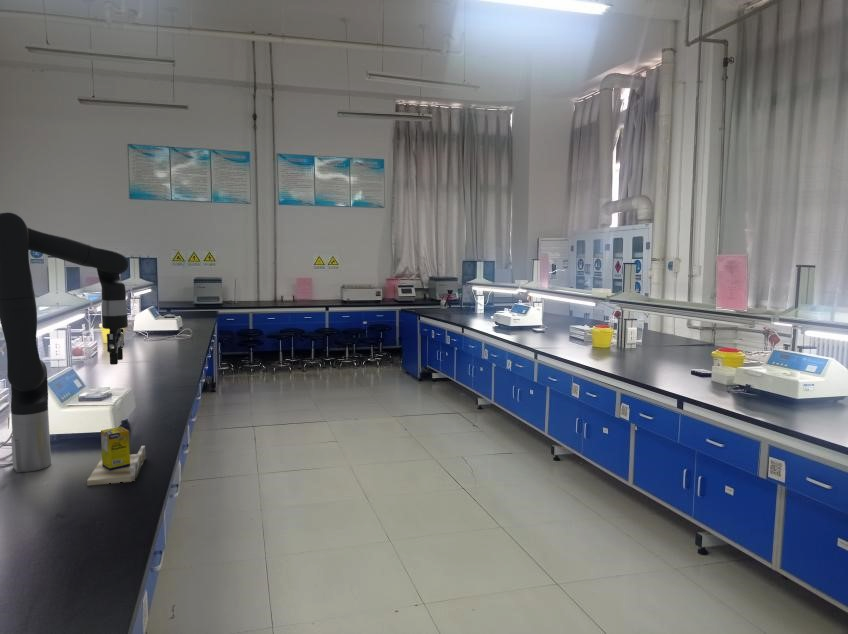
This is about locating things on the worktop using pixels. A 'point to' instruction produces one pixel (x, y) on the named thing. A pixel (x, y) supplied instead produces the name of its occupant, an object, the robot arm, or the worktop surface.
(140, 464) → the cream serving tray
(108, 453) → the supplement box
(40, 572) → the worktop surface
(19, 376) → the robot arm
